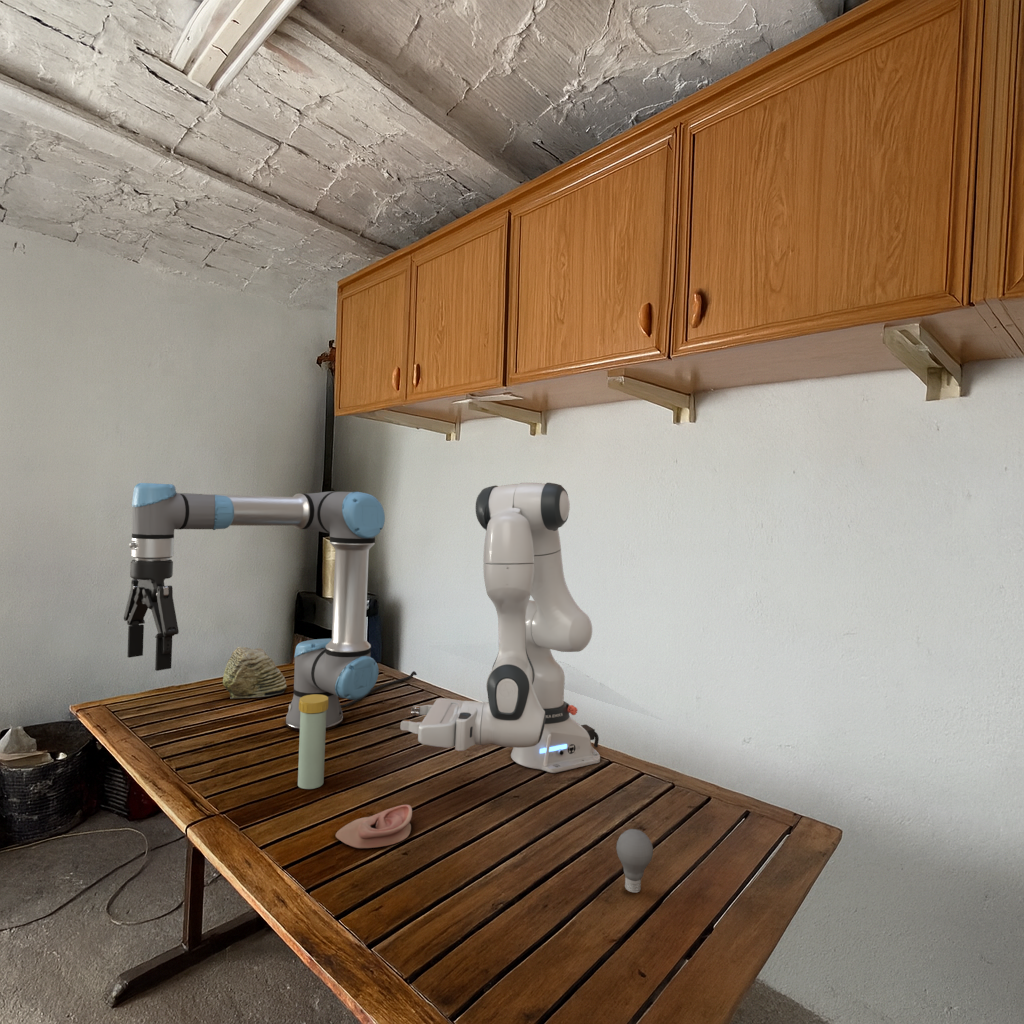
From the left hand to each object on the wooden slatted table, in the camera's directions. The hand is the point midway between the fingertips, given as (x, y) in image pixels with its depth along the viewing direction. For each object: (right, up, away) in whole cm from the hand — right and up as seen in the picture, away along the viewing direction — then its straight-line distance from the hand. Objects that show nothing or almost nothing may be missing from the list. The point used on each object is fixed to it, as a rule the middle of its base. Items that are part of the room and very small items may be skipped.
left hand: (148, 662), depth 129 cm
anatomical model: (+48, -30, -9) cm, 58 cm away
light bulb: (+94, -33, -24) cm, 103 cm away
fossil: (-6, -27, +69) cm, 74 cm away
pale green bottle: (+30, -29, +10) cm, 43 cm away
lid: (+31, -11, +10) cm, 34 cm away
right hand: (+51, -14, +8) cm, 54 cm away
